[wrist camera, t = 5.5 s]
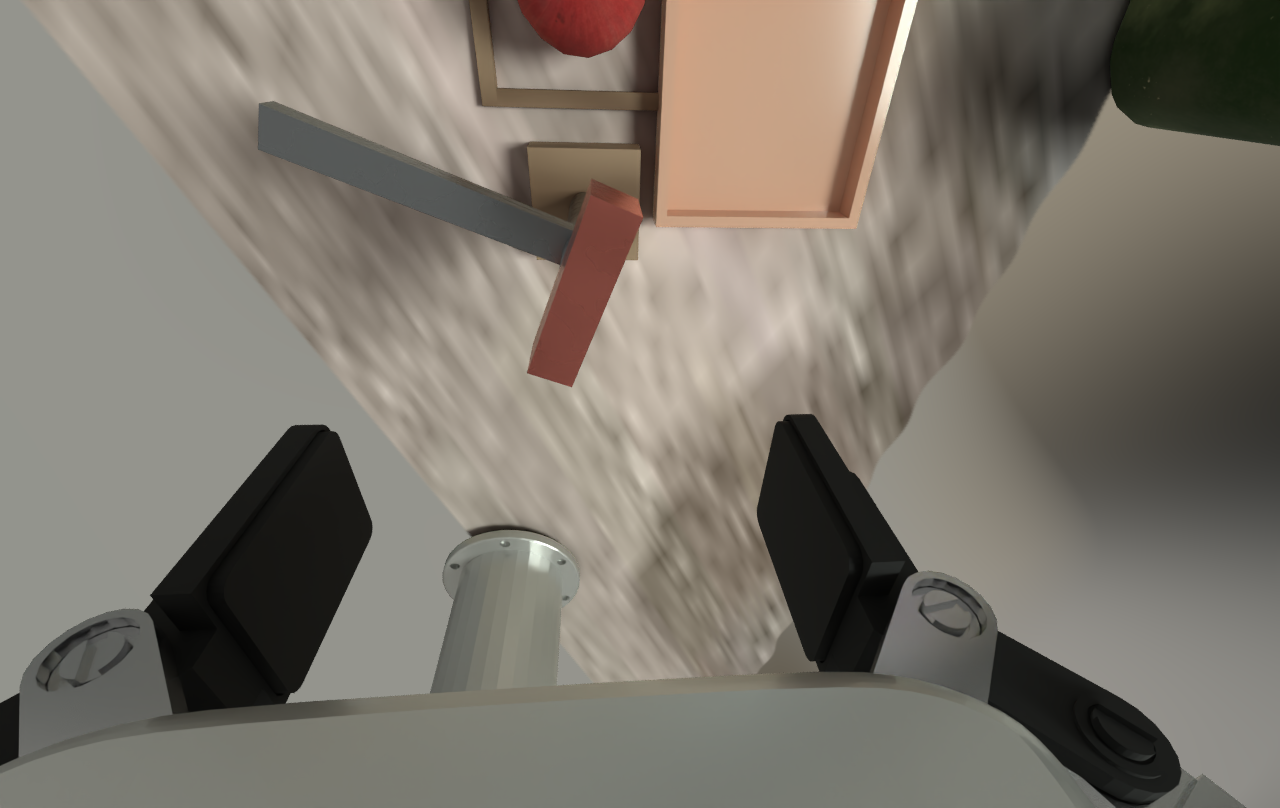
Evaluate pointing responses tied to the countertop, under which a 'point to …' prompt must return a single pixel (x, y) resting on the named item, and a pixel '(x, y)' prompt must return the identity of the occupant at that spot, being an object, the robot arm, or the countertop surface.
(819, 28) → the dish
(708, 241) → the countertop surface
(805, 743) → the robot arm
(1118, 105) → the green bottle
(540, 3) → the onion
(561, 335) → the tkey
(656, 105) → the tan frame with plate
